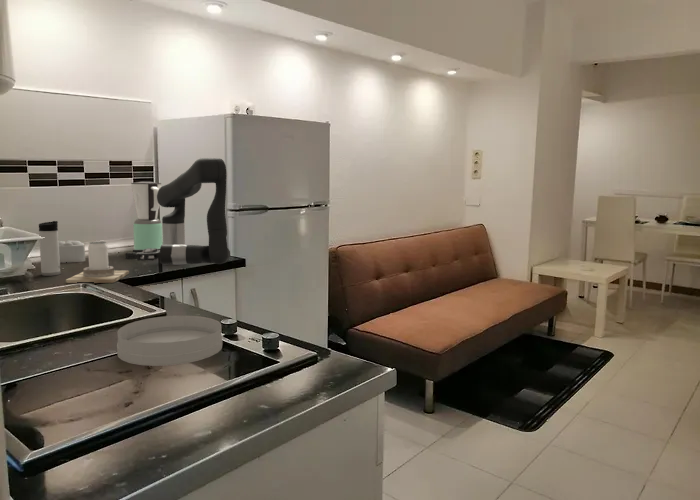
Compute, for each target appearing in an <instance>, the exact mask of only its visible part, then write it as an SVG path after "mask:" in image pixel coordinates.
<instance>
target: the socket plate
mask: <svg viewBox="0 0 700 500" xmlns="http://www.w3.org/2000/svg"><path fill="white" fill-rule="evenodd" d="M108 266H109V269H104V270H89V266H86V267H84V268H82V270H83V271H81V272H80V273H77V274H75V275H73V276H71V277H69V278H66V279H65V283H66V284H78V283H77V282H94V283H93V284H95V283H96V284H103V283H104V284H105V283H106V284H107V283H109V284H113V283H116V282H117V281H119V280H120V279H123V278H124V277H126V276H128V275H129V274H130V270H115V267H114V266H113V265H108Z"/></svg>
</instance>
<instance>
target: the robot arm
mask: <svg viewBox="0 0 700 500" xmlns="http://www.w3.org/2000/svg"><path fill="white" fill-rule="evenodd" d="M227 175H228V174H227V166H226V162H225V160H223V159H222V158H218V157H200V158H198V159H196V160H195V161H194V162H193V163H192V165H190V167H189V168H188V169H187V170H185V171H184V172H183V173H181V174H180V175H179V176H177V178H175V179H174V180H171V182H169V183H167V184H165V185H161V188H160V189H159V191H158V193H157V201H158V203H159V204H160V207H162V208H174V209H173V211H171V212H170V213H168V214H165V215H164V216H162V219H161V223H162V239H163V244H162V245H161V247H160V249H157V248H154V249H151V248H148V249H144V250H134V249H133V250H132V252H126V253H125V259H126V260H136V261H138V262H141V261H156V260H158V259H159V262H160V264H161V265H196V264H216V265H222V264H225V263H227V262H228V261H229V259H230V258H231V250H230V249H229V247H228V241H227V236H228V226H227V217H226V215H227V214H226V201H227V200H226V199H227ZM203 184H215V194H214V197H213V200H212V202H211V203H210V206H209V208H208V211H207V213H206V226H207V227H206V228H207V234H208V245H199V244H186V233H185V232H186V229H185V218H186V199H187V198H190V197H193V196H194V195H196V194H197V193H198V192H199V191H200V190H201V188H202V185H203Z"/></svg>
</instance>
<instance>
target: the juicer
mask: <svg viewBox="0 0 700 500" xmlns="http://www.w3.org/2000/svg"><path fill="white" fill-rule="evenodd" d="M130 183H131V191H132V196H133V201H134V207H135V211H136V217H137V219H135V220H134V222H133V224H132V225H133V250H144V249H148V248H151V249H154V248H157V249H160V247H161V245H162V244H163V229H162V220H160V219H159V218H158V216H159V209H160V207H161V205H160V204H159V203H158V201H157V193H158V191H159V189H160V188H161V187H162V183H161V182H154V181H150V180H142V181H136V182H130Z"/></svg>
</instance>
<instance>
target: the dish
mask: <svg viewBox="0 0 700 500" xmlns="http://www.w3.org/2000/svg"><path fill="white" fill-rule="evenodd" d="M116 333H117V343H116V349H117V357H118V358H119V359H120V360H121V361H123V362H125V363H129V364H133V365H139V366H148V367H149V366H150V367H158V366H159V367H161V366H162V367H163V366H175V365H176V366H177V365H184V364H189V363H194V362H198V361H201V360H204V359H208V358H210V357H213V356H214V355H216V354H218V353H219V352H221V350H222V349H223V335H222V323H221V322H220V321H218V320H216V319H214V318H210V317H205V316H200V315H183V314H182V315H167V316H166V315H165V316H157V317H149V318H144V319H141V320H140V319H139V320H135V321H133V322H130V323H126V324H125V325H123V326H122V327H120V328H119V329H118V330H117V332H116Z"/></svg>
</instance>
